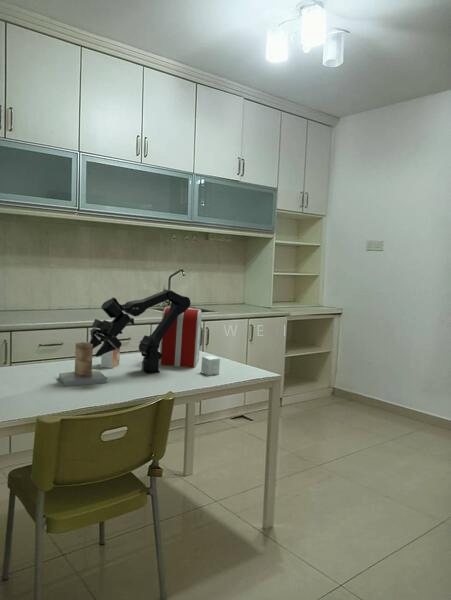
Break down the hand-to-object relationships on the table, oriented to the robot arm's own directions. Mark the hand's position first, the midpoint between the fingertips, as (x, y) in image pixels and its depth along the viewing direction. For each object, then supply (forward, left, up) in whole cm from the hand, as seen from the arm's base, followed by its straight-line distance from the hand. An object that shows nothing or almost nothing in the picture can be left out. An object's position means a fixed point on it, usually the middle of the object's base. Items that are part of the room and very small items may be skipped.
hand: (91, 353), depth 185 cm
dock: (+3, 0, -11) cm, 11 cm away
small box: (-14, -19, -11) cm, 26 cm away
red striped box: (-48, -17, -11) cm, 52 cm away
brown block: (+3, 0, -9) cm, 9 cm away
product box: (-53, +5, -11) cm, 54 cm away
